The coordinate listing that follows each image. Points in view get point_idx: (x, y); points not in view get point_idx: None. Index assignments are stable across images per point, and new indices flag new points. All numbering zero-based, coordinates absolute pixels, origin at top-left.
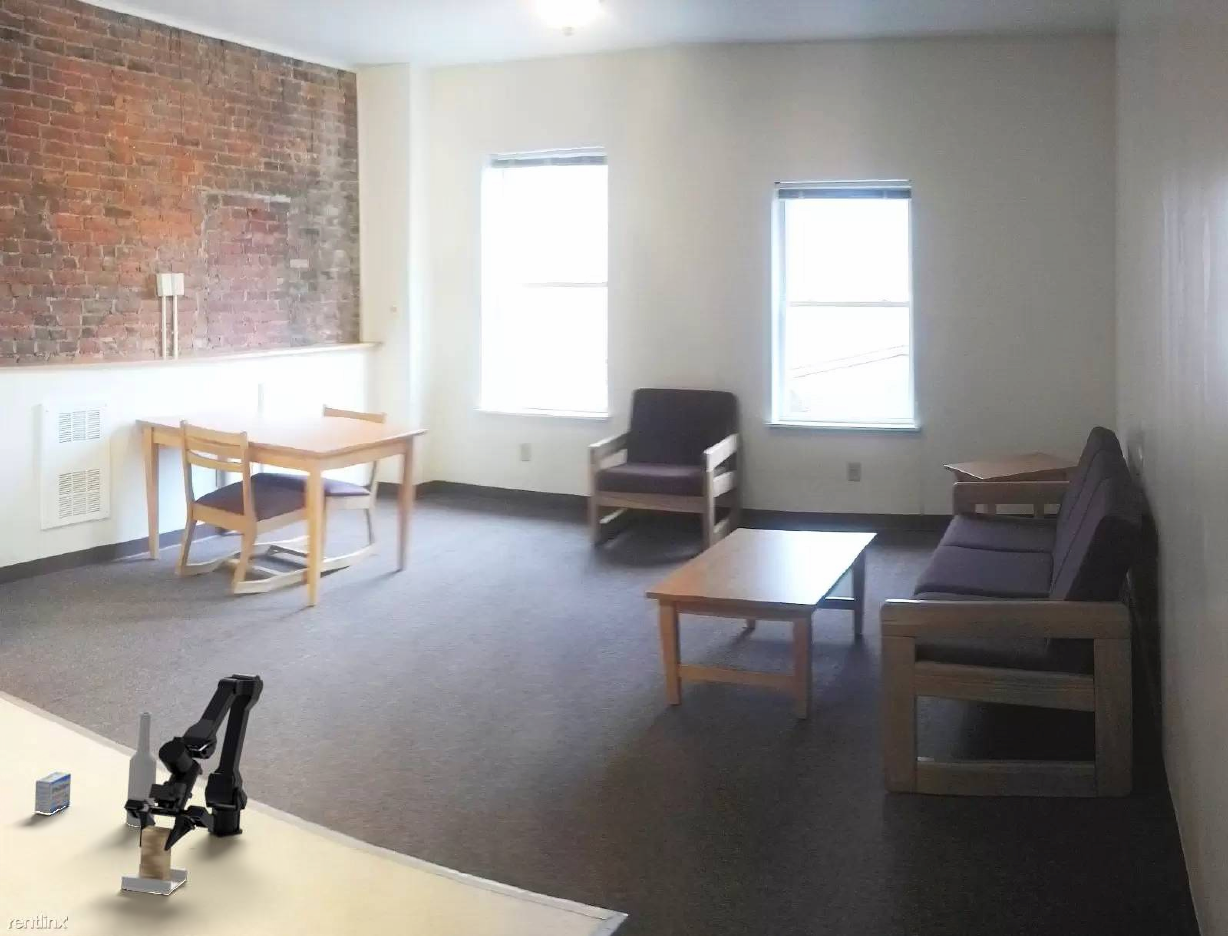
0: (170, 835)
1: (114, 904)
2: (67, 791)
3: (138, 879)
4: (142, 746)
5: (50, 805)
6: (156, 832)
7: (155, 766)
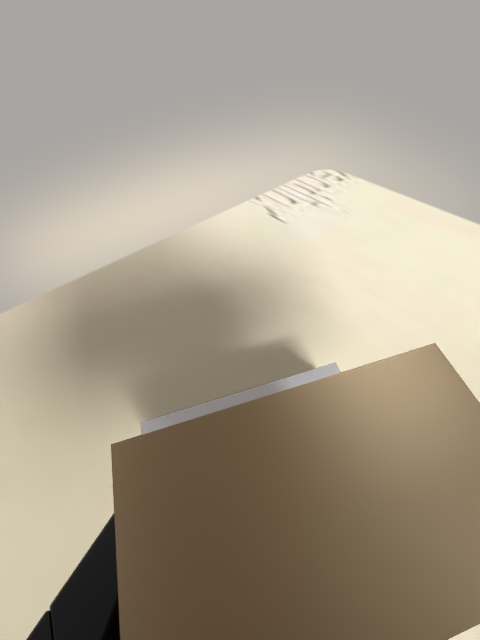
0: (115, 568)
1: (251, 302)
2: None
3: (270, 382)
4: None
5: None
6: (247, 403)
7: None
